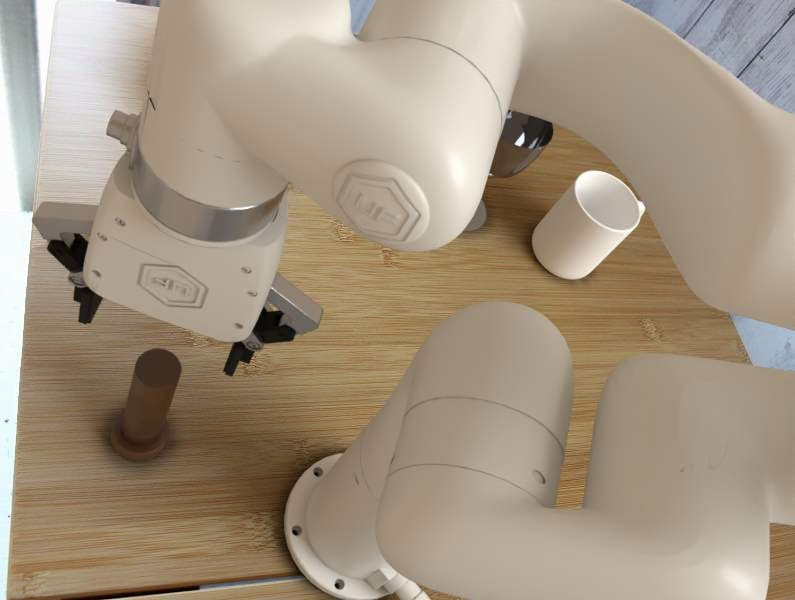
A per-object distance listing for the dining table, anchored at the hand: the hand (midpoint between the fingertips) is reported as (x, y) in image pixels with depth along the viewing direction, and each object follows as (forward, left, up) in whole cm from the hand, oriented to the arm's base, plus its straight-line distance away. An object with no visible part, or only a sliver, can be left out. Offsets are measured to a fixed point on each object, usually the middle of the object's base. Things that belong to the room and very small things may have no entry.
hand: (164, 332), depth 55 cm
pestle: (0, 0, -18) cm, 18 cm away
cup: (-9, -54, -18) cm, 58 cm away
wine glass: (+3, -45, -18) cm, 49 cm away
